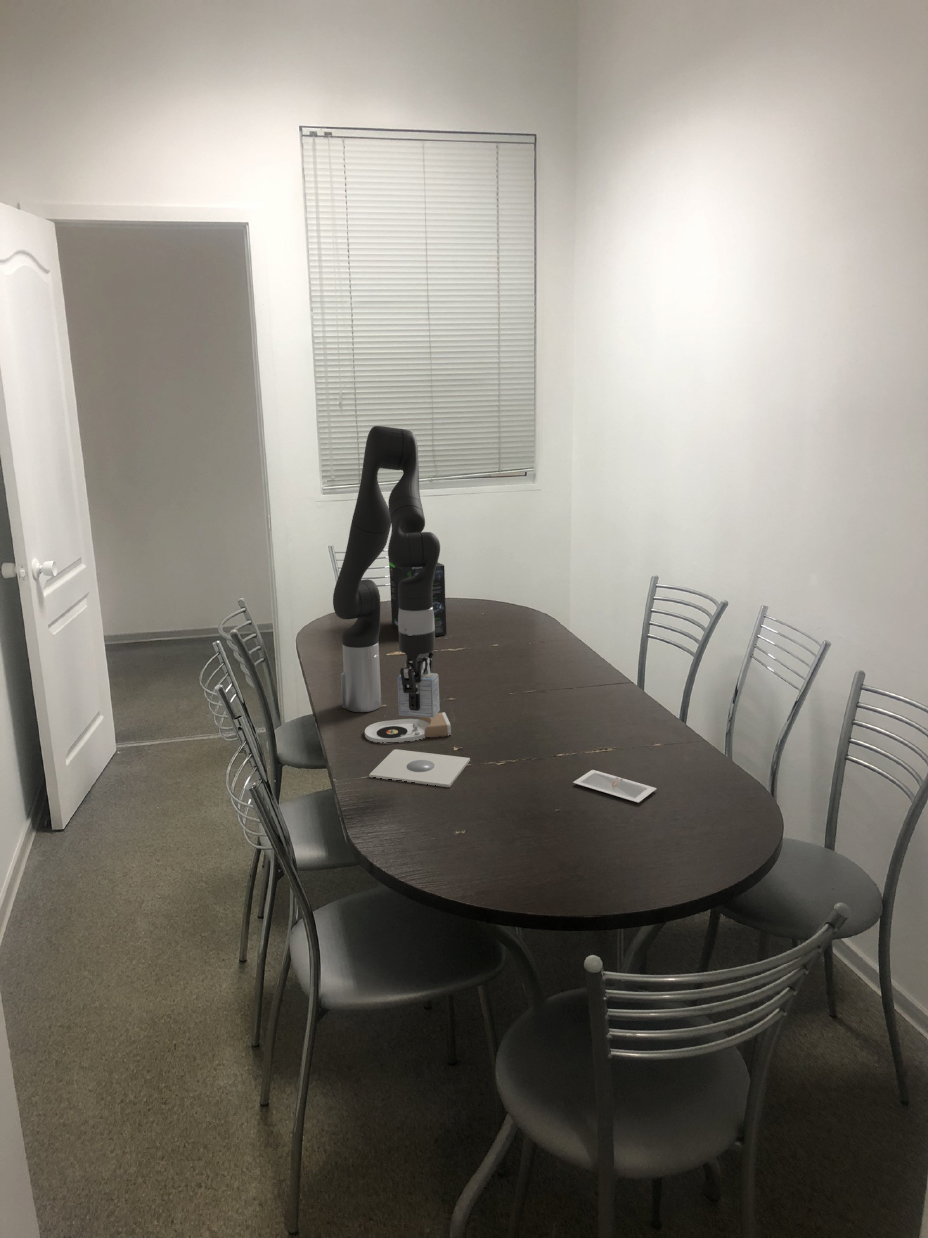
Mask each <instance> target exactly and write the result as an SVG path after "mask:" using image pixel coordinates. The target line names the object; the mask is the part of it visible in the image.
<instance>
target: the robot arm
mask: <svg viewBox="0 0 928 1238" xmlns="http://www.w3.org/2000/svg"><path fill="white" fill-rule="evenodd" d="M418 447H419V446H418V441H417V438H416V435H415V433H414V432H413V431H411V430H408V429H405V428H397V427H389V426H383V425H374V426H372V427H371V428H370V430H369V432H368V434H367V438H366V442H365V447H364V448H365V449H364V455H363V461H362V463H363V464H362V470H361V476H360V483H359V490H358V494H357V497H356V503H355V507H354V510H353V514H352V519H351V523H350V524H351V525H350V528H349V534H348V540H347V544H346V549H345V553H344V556H343V561H342V565H341V568H340V571H339V574H338V577H337V580H336V583H335V586H334V589H333V590H334V591H333V594H332V605H333V606H332V607H333V610H334V613H335V615H336V616H337V617H338V618H339V619H341V620H354V619H356V620H355V622H354V623H353V624H352V625H351V626H350V627H348V628H347V629H345V630H344V631H343V632H342V634H341V644H342V645H341V646H342V658H343V659H342V660H343V661H342V664H343V665H342V666H343V671H342V672H341V673H340V682H341V683H340V685H341V686H340V687H341V703H342V705H341V706H342V709H345V710H348V711H350V712H355V713H368V712H372V711H373V712H374V711H376V710H378V709H380V708H382V707H381V706H382V689H381V671H380V670H381V669H380V649H379V646H380V645H379V641H380V640H379V636H380V631H381V593H380V590H379V588H378V585H377V584H376V583H375V581H373V580H371V579H363V576H364V574H366V572H367V570H369V568H370V566H372V564H374V562H375V561H376V560H377V559H378V557H379V556H380V555H381V554H382V553H383V551H384V549H385V547H386V546H387V542H388V541H389V542H388V546H387V547H388V548H387V557H388V561H389V560H390V562H391V563H392V564H393V565H394V566H395V567H398V568H410V567H422V569H421V571H420V572H419V573H418V574H417V575H415V576H412V577H409V578H406V579H403V580H401V581H400V582H399V585H398V597H399V614H398V649H399V651H400V652H401V653H404V654H405V655H406V660H405V667H401V668H400V672H399V673H400V675H401V680H402V686H403V692H404V693H409V709H410V710H414V711H418V710H419V709H420V693H419V692H420V683H421V682H422V679H423V674H424V673H434V658H435V653H434V650H435V649H436V636H435V625H434V612H433V595H432V588H433V579H434V574H435V570H436V566H437V562H438V563H439V560H440V559H439V558H440V553H441V543H440V540H439V537H437V535H436V534H435V533H433V532H431V531H424V529H425V527H426V519H425V514H424V513H425V512H424V508H423V504H422V501H421V500H422V499H421V494H420V468H419V467H420V464H419V448H418ZM380 469H385V470H392V471H402V475H401V477H400V479H399V480H398V482H397V483H395V485H394V486H393V489H392V490H391V492H390V494H389V496H388V502H386V499H385V498H384V495H383V493H382V491H381V487H380V484H379V480H378V473H379V470H380ZM387 503H388V504H387ZM390 532H391V533H390ZM389 535H390V538H389ZM388 539H389V540H388ZM415 677H419V678H418V679H415ZM415 683H416V684H415ZM411 687H412V688H411Z"/></svg>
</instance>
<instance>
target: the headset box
mask: <svg viewBox="0 0 928 1238" xmlns="http://www.w3.org/2000/svg"><path fill="white" fill-rule="evenodd" d="M388 565H389V566H388V568H389V569H388V570H389V585H390V605H391V606H390V609H391V611H390V613H391V625H392V626H393V627H395V628H396V629H398V614H399V597H398V585H399V582H400V581H401V580H403V579H406V578H409V577H412V576H415V575H417V574H418V573H419V572H420V571H421V569H422V567H410V568H398V567H395V566H394V565H393V564H392V563H391V562H390V560H389V559H388ZM445 575H446V574H445V564H443V563H440V562H439V561H438V562H437V566H436V570H435V574H434V579H433V588H432V595H433V612H434V625H435V637H438V636H445V635H448V634H447V633H448V631H447V614H446V613H447V608H446V605H447V604H446V577H445Z"/></svg>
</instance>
